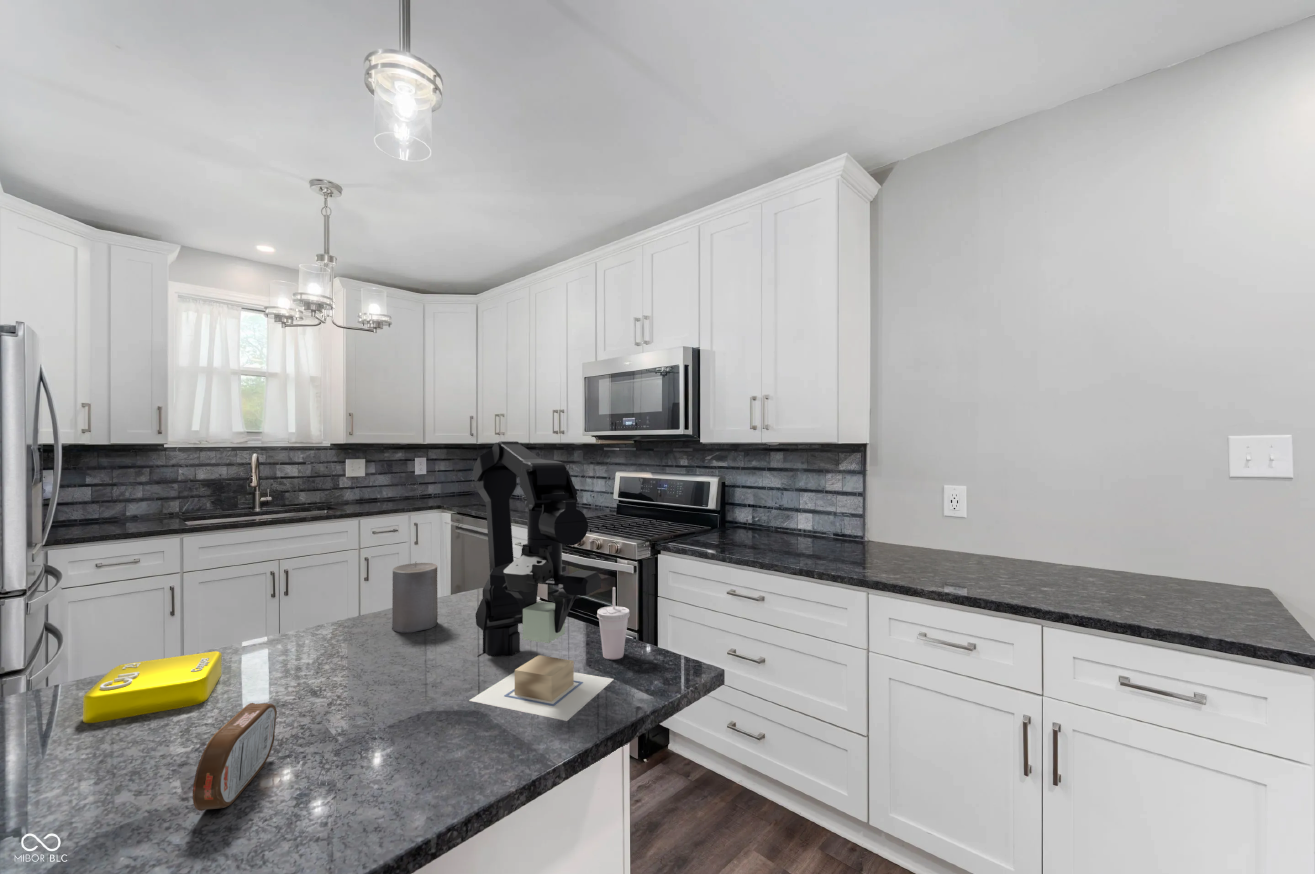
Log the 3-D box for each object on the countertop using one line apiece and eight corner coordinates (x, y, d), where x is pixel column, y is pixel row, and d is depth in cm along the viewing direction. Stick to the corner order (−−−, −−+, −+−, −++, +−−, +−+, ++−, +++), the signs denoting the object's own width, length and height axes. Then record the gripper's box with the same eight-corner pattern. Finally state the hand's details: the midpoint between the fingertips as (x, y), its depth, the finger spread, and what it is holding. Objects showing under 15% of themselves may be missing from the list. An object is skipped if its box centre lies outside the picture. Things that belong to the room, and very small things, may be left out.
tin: (254, 754, 75) (255, 691, 75) (280, 751, 76) (281, 689, 76) (188, 829, 60) (189, 750, 61) (221, 824, 61) (222, 747, 61)
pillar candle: (406, 618, 135) (406, 556, 135) (445, 619, 134) (445, 557, 134) (383, 632, 125) (382, 565, 125) (424, 633, 124) (424, 566, 124)
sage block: (522, 639, 92) (522, 608, 92) (539, 630, 96) (539, 601, 97) (548, 643, 90) (548, 612, 90) (564, 633, 95) (564, 604, 95)
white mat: (468, 706, 89) (468, 699, 89) (526, 669, 104) (526, 663, 104) (566, 727, 82) (566, 719, 82) (614, 684, 97) (614, 678, 97)
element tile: (205, 705, 90) (205, 675, 90) (77, 728, 83) (78, 695, 83) (223, 672, 103) (224, 646, 103) (114, 689, 96) (115, 661, 96)
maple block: (514, 694, 91) (514, 669, 91) (538, 677, 98) (538, 655, 98) (551, 701, 89) (551, 676, 89) (573, 684, 95) (573, 660, 95)
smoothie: (631, 654, 111) (632, 584, 112) (627, 667, 105) (627, 593, 105) (600, 653, 112) (600, 583, 112) (593, 666, 106) (593, 592, 106)
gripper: (467, 540, 89) (466, 638, 89) (568, 548, 83) (567, 654, 82) (509, 531, 100) (509, 618, 100) (602, 537, 93) (602, 631, 93)
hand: (544, 630), depth 93 cm, fingers closed on sage block, 5 cm apart
